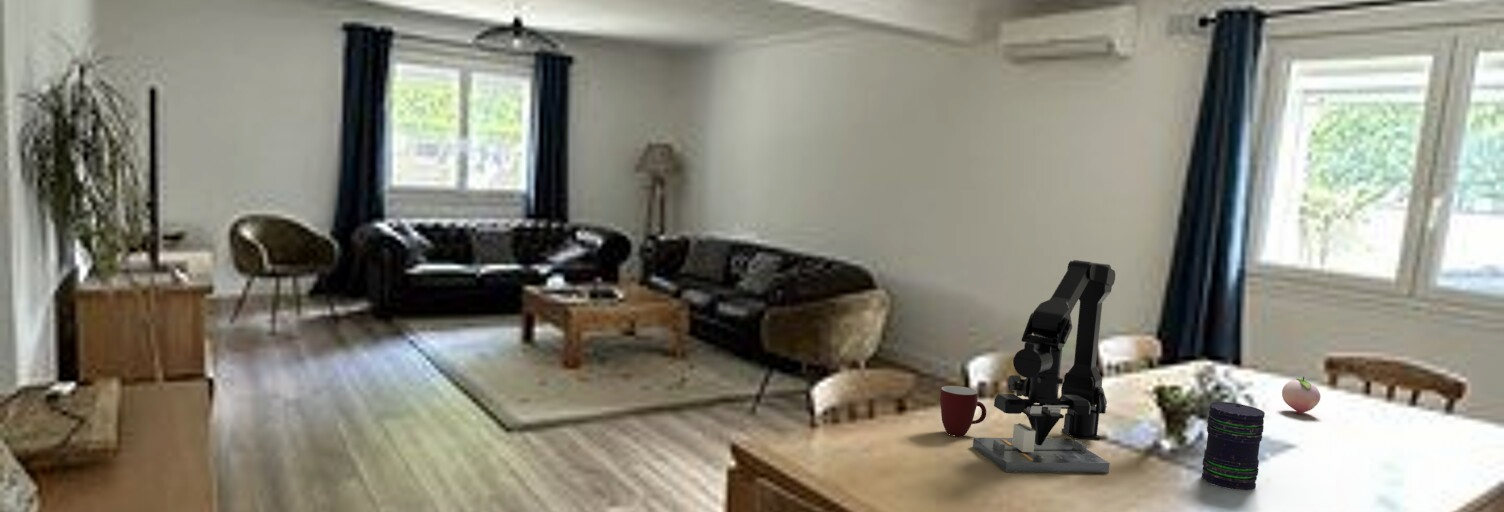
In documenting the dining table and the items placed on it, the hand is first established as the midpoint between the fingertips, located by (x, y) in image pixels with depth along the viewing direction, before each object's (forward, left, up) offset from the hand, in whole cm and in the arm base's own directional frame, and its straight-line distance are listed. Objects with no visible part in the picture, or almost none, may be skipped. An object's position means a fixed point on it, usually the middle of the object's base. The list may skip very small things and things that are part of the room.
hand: (1038, 444), depth 188 cm
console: (0, 0, -3) cm, 3 cm away
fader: (+3, 0, -1) cm, 3 cm away
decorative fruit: (-94, -39, -3) cm, 102 cm away
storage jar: (-34, +13, -3) cm, 37 cm away
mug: (+10, -17, -3) cm, 20 cm away
